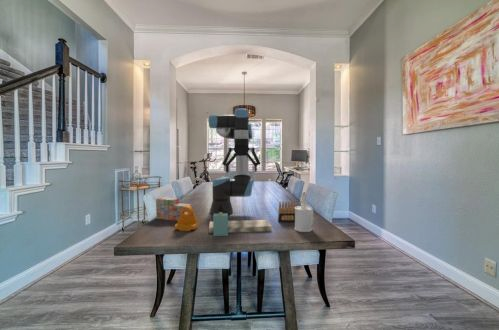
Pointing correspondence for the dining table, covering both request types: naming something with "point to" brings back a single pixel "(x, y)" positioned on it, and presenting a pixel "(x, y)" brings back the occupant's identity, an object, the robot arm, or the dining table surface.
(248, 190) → the robot arm
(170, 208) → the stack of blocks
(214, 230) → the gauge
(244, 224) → the board
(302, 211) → the white smoke grenade
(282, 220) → the ammunition clip
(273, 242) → the dining table surface
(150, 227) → the dining table surface
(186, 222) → the orange bell-shaped figure
